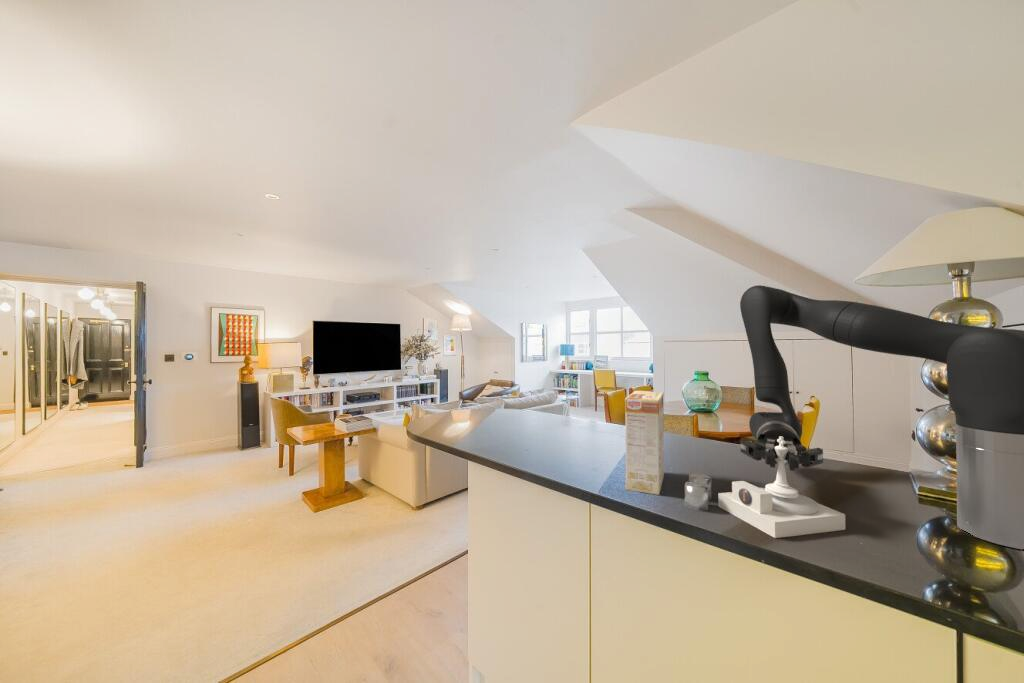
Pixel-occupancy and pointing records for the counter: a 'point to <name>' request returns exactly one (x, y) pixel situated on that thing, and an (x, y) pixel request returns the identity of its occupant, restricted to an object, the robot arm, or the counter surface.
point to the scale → (779, 511)
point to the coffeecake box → (644, 441)
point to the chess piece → (781, 475)
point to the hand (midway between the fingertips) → (782, 463)
